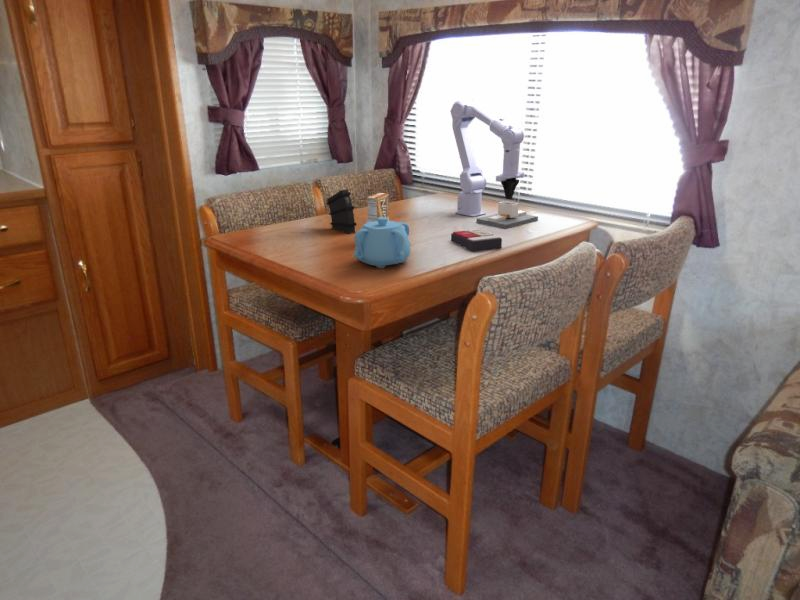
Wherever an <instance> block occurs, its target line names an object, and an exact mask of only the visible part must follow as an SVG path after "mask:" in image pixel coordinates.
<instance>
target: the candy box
mask: <svg viewBox="0 0 800 600" xmlns="http://www.w3.org/2000/svg"><path fill="white" fill-rule="evenodd" d="M366 199H367V222H369V221H371V222H375V221H377V218H379V217H386V218H388V221H390V217H389V216H390V194H389V193H385V192H378V193H375V194H373V195H369V196H367V198H366Z"/></svg>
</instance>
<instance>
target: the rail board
mask: <svg viewBox="0 0 800 600" xmlns="http://www.w3.org/2000/svg"><path fill="white" fill-rule="evenodd" d="M537 221H539V216H538V215H532V214H527V211H526V210H525V211H523V210H519V209H518V216H517V217H513V218H510V217H509V218H506V217H505V216H500V215H498V213H495V214H491V215H486V216H483V217H482V216H481V217H478V218H476V223H477V222H478V224H481V223H482V225H486V224H487V226H490V225H491V226H492V227H495V226H496V228H500V229H504V230H506V229H510V228H515V227H517V226H522V225H526V224H529V223H533V222H537ZM491 226H490V227H491Z"/></svg>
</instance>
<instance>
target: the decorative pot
mask: <svg viewBox="0 0 800 600" xmlns="http://www.w3.org/2000/svg"><path fill="white" fill-rule="evenodd" d="M409 235H410V226H409V225H408V224H407V223H406V222H404V221H403V222H402V221H399V222H397V221H393V220H389V221H388V218H386V217H379V218H377V221H375V222H371V221H369V222H368V221H365V223H364V224H363V225H362V227H361V228H360V229H359V230H357V231H355V233H354V238H353V240H354V243H355V251H354V252H353V257H354V258H355V259H356V260H359V261H360V262H362V263H364V264H367V265H371V266H375V268H377V269H384V268H386V266H391V265H399V264H398V263H402V264H403V262H405V261H407V260H408V258H409V257H410V255H411V251H412V249H411V242H410V239H409ZM383 267H384V268H383Z"/></svg>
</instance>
